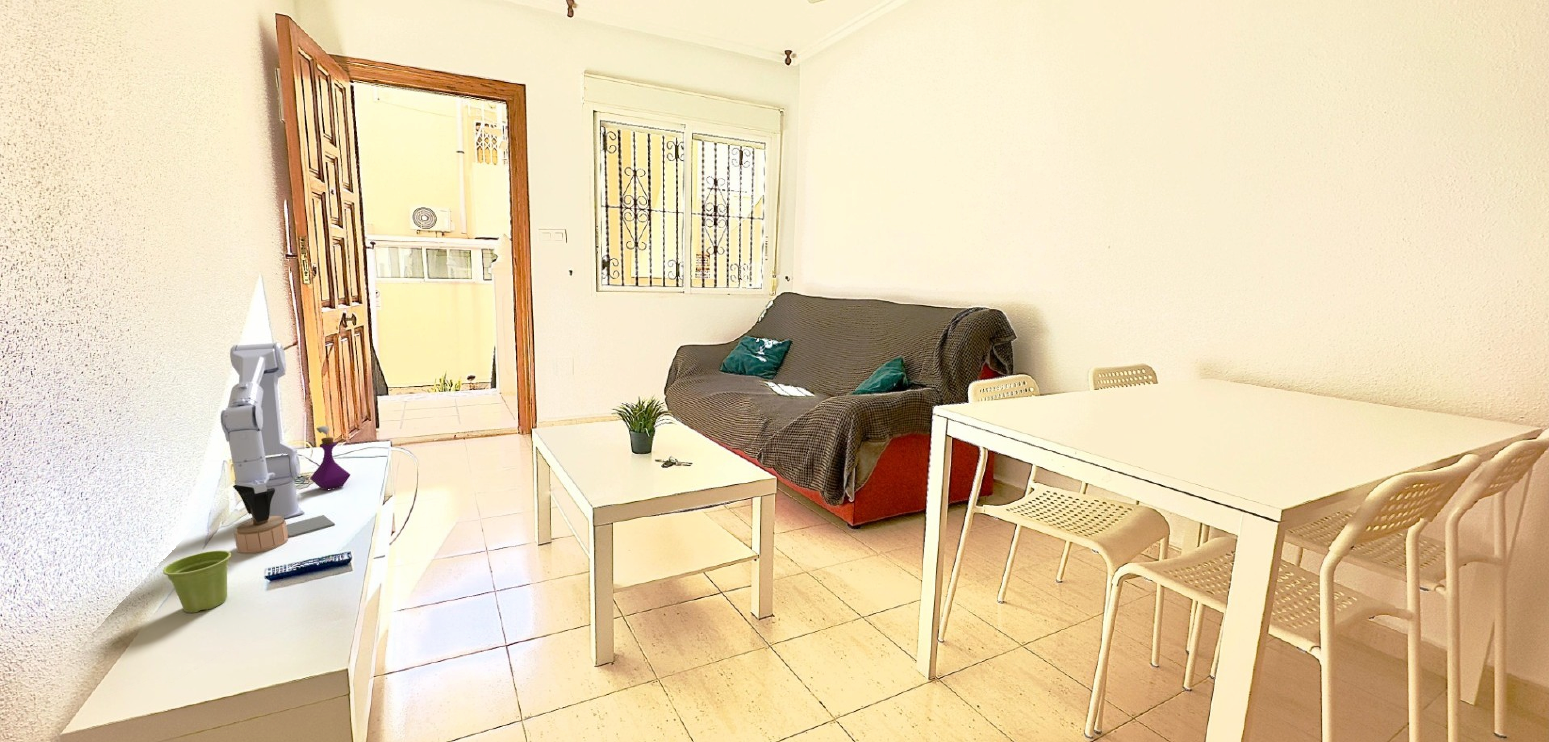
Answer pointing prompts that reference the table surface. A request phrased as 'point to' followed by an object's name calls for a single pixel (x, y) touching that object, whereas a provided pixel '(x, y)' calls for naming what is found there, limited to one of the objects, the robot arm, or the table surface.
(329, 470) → the perfume bottle
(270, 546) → the peach cylinder
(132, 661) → the table surface
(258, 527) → the lid
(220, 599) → the plant pot
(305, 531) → the mat
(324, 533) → the table surface
